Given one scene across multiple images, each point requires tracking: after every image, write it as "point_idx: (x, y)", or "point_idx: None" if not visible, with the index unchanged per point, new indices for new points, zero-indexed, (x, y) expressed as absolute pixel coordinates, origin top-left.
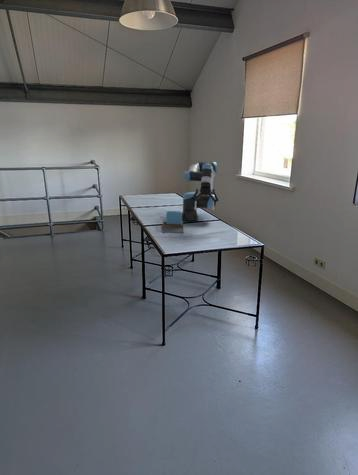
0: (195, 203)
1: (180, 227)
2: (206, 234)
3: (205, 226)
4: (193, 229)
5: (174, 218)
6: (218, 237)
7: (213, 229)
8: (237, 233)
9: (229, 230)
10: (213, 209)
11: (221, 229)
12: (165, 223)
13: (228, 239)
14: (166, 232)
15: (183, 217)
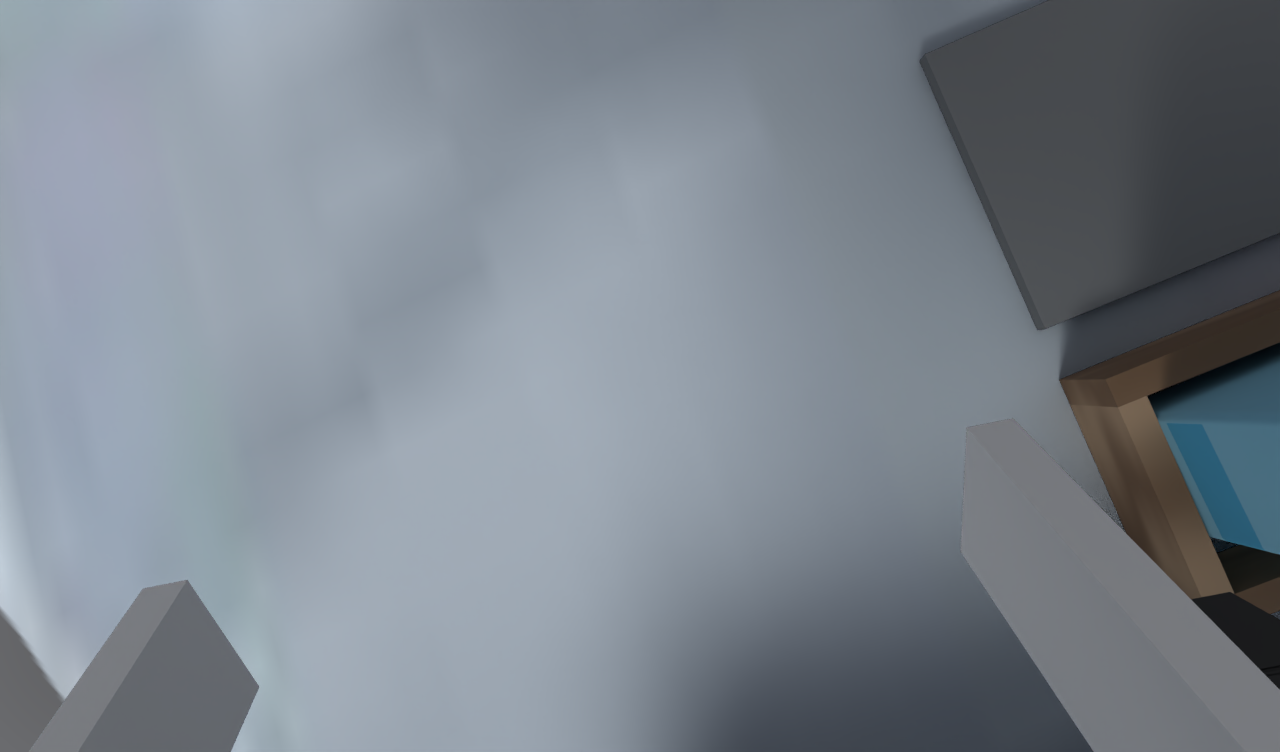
0: (1194, 649)
1: (1122, 358)
2: (493, 190)
3: (678, 711)
4: (831, 396)
5: None
6: (247, 115)
7: (468, 568)
8: (2, 503)
9: None
10: (148, 590)
11: (327, 634)
12: None
13: (66, 85)
14: None
15: None
